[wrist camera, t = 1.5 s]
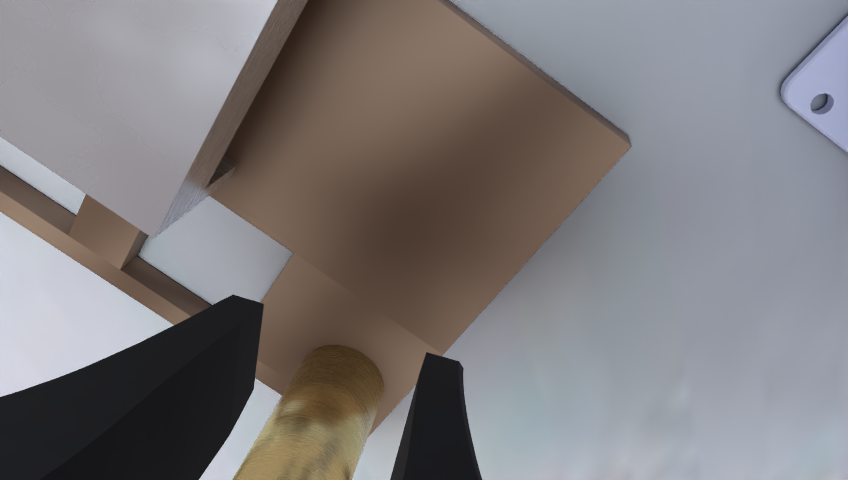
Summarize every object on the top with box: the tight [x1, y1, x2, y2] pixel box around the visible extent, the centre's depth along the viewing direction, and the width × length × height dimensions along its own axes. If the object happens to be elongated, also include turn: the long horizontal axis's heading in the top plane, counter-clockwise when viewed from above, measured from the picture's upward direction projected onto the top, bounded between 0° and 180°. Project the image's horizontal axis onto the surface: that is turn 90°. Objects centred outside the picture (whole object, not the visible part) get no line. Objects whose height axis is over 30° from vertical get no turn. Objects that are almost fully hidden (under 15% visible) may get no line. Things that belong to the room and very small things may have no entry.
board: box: [0, 0, 631, 437], centre depth 18 cm, size 23×15×3 cm, turn 56°
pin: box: [233, 345, 384, 480], centre depth 20 cm, size 3×3×6 cm
